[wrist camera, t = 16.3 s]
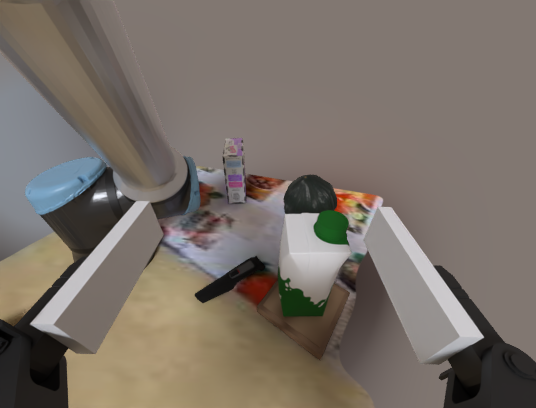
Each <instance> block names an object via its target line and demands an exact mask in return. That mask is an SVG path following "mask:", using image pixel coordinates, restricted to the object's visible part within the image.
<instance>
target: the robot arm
mask: <svg viewBox="0 0 536 408" xmlns="http://www.w3.org/2000/svg"><path fill="white" fill-rule="evenodd" d="M0 53H1V54H2V55H3V56H4V57H5V58H6V60H7V61H8V62H9V63H10V64H11V65H12V66H13V67H14V68H15V69H16V70H17V71H18V72H19V73H20V74H21V75H22V76H23V77H24V78H25V79H26V80H27V81H28V82H29V83H30V84H31V85H32V86H33V87H34V88H35V90H36V91H37V92H38V93H39V94H40V95H41V96H42V97H43V98H44V99H45V100H46V101H47V102H48V103H49V104H50V105H51V106H52V107H53V108H54V109H55V110H56V111H57V112H58V113H59V114H60V115H61V116H62V117H63V118H64V120H66V122H67V123H68V124H69V125H71V127H72V128H73V129H74V130H75V131H76V132H77V133H78V134H79V135H80V136H81V137H82V138H83V139H84V140H85V141H86V142H87V143H88V144H89V145H90V146H91V147H92V148H93V150H95V152H96V153H98V155H99V156H100V157H102V159H103V160H104V161H105V162H106V163H107V164H108V165H109V166H110V167H107V166H106V163H105V162H104V161H103V160H101V159H99V158H93V157H86V158H80V159H76V160H72V161H68V162H65V163H63V164H60V165H57V166H55V167H53V168H50V169H48V170H46V171H44V172H43V173H41V174H39V175H38V176H37V177H35V178H34V179H32V180H31V181H30V183H29V184H28V185H27V187H26V189H25V195H26V197H27V199H28V200H29V202H30V203H31V204H32V206H33V207H34V209H35V212H36V213H37V214H39V215H40V216H41V217H42V218H43V219H44V220H45V221H46V222H47V224H48V225H49V226H50V227H51V228H52V229H53V230H54V231H55V233H56V234H57V235H58V236H59V237H60V238H61V239H62V241H63V242H64V243H65V244H66V245H67V246H68V247H69V248H70V250H71V251H72V254H73V259H74V263H73V264H72V265H70V266H69V267H68V268H67V269H66V271H65V272H64V273H63V274H62V275H61V276H60V278H59V279H57V280H56V281H55V283H54V284H53V285H52V287H51V288H49V289H48V290H47V291H46V292H45V293H44V295H43V296H42V297H41V298H40V299H39V300H38V301H37V302H36V303H35V304H34V306H33V307H32V308H31V309H30V310H29V311H28V312H27V313H26V314H25V315H24V316H23V318H22V319H21V320H20V321H19V322H18V323H17V324H16V325H15V326H14V327H13V326H12V325H10V324H8V323H6V322H5V321H3V320H1V319H0V408H68V387H67V363H66V358H65V356H64V354H65V352H66V351H67V349H68V348H69V349H71V350H72V351H74V352H75V353H81V354H96V352H97V350H98V349H99V347H100V345H101V343H102V342H103V340H104V338H105V336H106V335H107V333H108V331H109V329H110V328H111V326H112V324H113V322H114V321H115V319H116V317H117V315H118V314H119V312H120V310H121V308H122V307H123V305H124V303H125V301H126V300H127V298H128V296H129V294H130V293H131V291H132V289H133V287H134V286H135V284H136V282H137V280H138V279H139V277H140V275H141V273H142V272H143V270H144V268H145V267H146V266H147V265H148V264H149V262H150V261H151V260H152V258H153V256H154V253H155V249H156V247H157V246H158V244H159V242H160V240H161V239H162V237H163V235H164V234H163V232H162V229H161V227H160V225H159V222H158V220H157V219H162V218H167V217H172V216H177V215H186V214H187V213H190V212H194V211H196V210H198V208H199V207H200V192H199V182H198V176H197V171H196V166H195V163H194V161H193V159H192V158H191V157H185V156H182V155H181V154H180V153H179V152H178V151H177V150H176V149H174V148H172V147H170V145H169V142H168V139H167V137H166V134H165V132H164V129H163V126H162V124H161V121H160V119H159V116H158V114H157V111H156V108H155V106H154V103H153V101H152V98H151V96H150V93H149V90H148V88H147V85H146V83H145V80H144V77H143V75H142V72H141V70H140V67H139V65H138V62H137V59H136V57H135V54H134V52H133V49H132V47H131V44H130V41H129V39H128V36H127V33H126V31H125V28H124V26H123V23H122V21H121V18H120V15H119V13H118V10H117V8H116V5H115V2H114V0H0ZM364 242H365V244H366V247H367V249H368V251H369V253H370V255H371V257H372V260H373V262H374V264H375V266H376V268H377V270H378V273H379V275H380V277H381V279H382V282H383V283H384V286H385V288H386V290H387V293H388V295H389V297H390V299H391V301H392V304H393V305H394V308H395V310H396V312H397V314H398V317H399V319H400V321H401V323H402V325H403V328H404V330H405V332H406V334H407V336H408V339H409V341H410V343H411V345H412V347H413V350H414V352H415V354H416V356H417V358H418V360H419V363H420V364H438V365H439V364H441V363H442V362H444V361H446V360H448V361H449V363H450V364H451V366H452V368H450V369H448V370H446V371H445V372H443V373H441V374H440V376H439V379H440V380H443V379H446V378H447V377H448V382H447V388H446V395H445V402H444V408H536V362H535V361H533V359H531V358H530V357H529V356H528V355H527V354H526V353H524V352H523V351H521V350H520V349H518V348H516V347H514V346H512V345H510V344H506V343H505V342H504V341H503V340H502V338H501V337H500V336H499V335H498V334H497V332H496V331H495V330H494V328H493V327H492V326H491V325H490V323H489V322H488V321H487V319H486V318H485V317H484V315H483V314H482V313H481V312H480V310H479V309H478V308H477V306H476V305H475V304H474V303H473V301H472V300H471V299H469V296H468V295H467V293H466V292H465V291H464V290H463V289H462V288H461V286H460V284H459V283H458V282H457V281H456V279H455V278H454V277H453V275H451V274H450V273H449V272H448V271H447V270H445V269H444V268H443V267H442V266H433V265H432V264H431V262H430V261H429V260H428V258H427V257H426V255H425V254H424V253H423V251H422V250H421V248H420V247H419V246H418V244H417V243H416V241H415V240H414V239H413V237H412V236H411V235H410V233H409V232H408V230H407V229H406V227H405V226H404V225H403V223H402V222H401V220H400V219H399V218H398V216H397V215H396V213H395V212H394V211H393V209H392V208H391V207H378V208H377V210H376V212H375V215H374V217H373V219H372V221H371V224H370V226H369V228H368V231H367V233H366V235H365V238H364Z"/></svg>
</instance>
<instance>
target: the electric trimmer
mask: <svg viewBox="0 0 536 408" xmlns="http://www.w3.org/2000/svg"><path fill="white" fill-rule="evenodd" d="M264 268H265V266H264V264H263V263H262V262H261V261H260V260H259V259H258V258H257V256H255V257H253V258H250V259H248V260H246V261H245V262H243V263H242V264H240V265H238V266H237V267H235V268H234V269H232V270H231V271H229V272H228V273H227V274H225V275H224V276H222V277H221V278H219V279H217V280H216V281H214V282H213V283H211V284H209V285H208V286H206V287H205V288H203V289H202V290H200V291H198V292H197V293H195V297H196V298H197V299H198V300H199V301H200V302H202V303H204V302H207V301H209V300H211V299H213V298H215V297H217V296H219V295H221V294H223V293H225V292H227V291H229V290H231V289H233V287H234V286H235V284H236V283H237V282H239V281H241V280H242V279H244V278H246V277H247V276H249V275H250V274H252V273H254V272H255V271H257V270H264Z"/></svg>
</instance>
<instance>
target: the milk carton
mask: <svg viewBox="0 0 536 408" xmlns="http://www.w3.org/2000/svg"><path fill="white" fill-rule="evenodd" d="M348 224H349V222H348V219H347V218H346V217H345V216H344V215H343V214H341V213H339V212H337V211H332V210H327V211H323V212H321V213H301V214H285V217H284V223H283V230H282V236H281V243H280V253H279V266H278V288H279V296H280V302H281V307H282V312H283V317H297V316H323V315H324V311H325V308H326V305H327V302H328V299H329V295H330V293H331V290H332V287H333V285H334V282H335V279H336V277H337V274H338V271H339V269H340V267H341V266H342V264H343V263H344V262H345V261H346V260H347V258H348V257H349V256H350V255H351V254H352V252H351V250H350V248H349V243H348V241H347V234H346V231H347V228H348Z"/></svg>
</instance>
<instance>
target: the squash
mask: <svg viewBox="0 0 536 408" xmlns="http://www.w3.org/2000/svg"><path fill="white" fill-rule="evenodd" d="M284 203H285V205H284V210H285V214H301V213H321V212H323V211H327V210H332V211H334V210H335V208H336V207H337V197H336V194H335V192H334V189H333V187H332V185H331V184H330V183H328V182H326V181H325V180H323V179H322V178H320V177H318V176H317V175H304V176H301V177H299V178H297V179H296V180H295V181H293V182H292V183H291V184H290V185H289V187H288V189H287V191H286V193H285V196H284Z"/></svg>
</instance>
